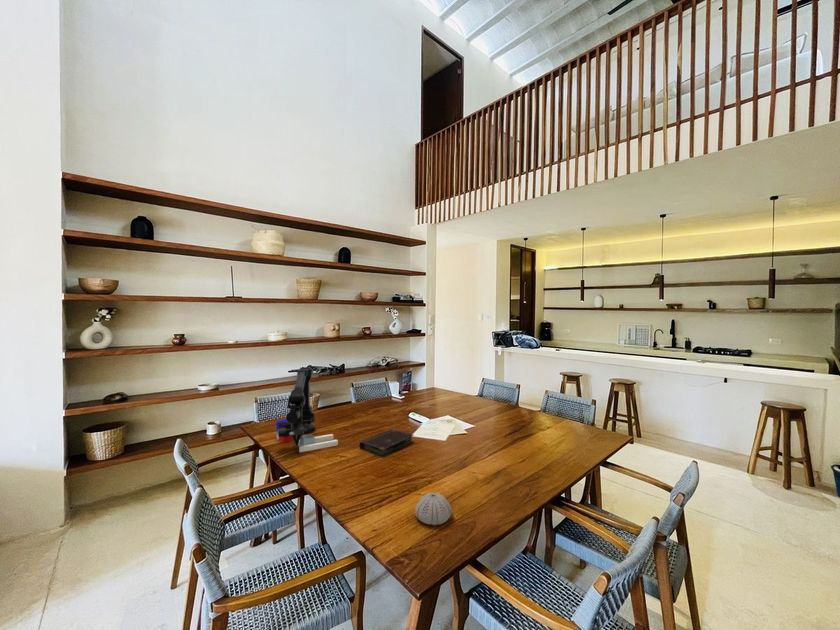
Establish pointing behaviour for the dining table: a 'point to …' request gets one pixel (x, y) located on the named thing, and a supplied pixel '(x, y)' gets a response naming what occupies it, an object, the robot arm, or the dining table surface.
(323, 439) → the chute
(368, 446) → the diary
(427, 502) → the sea urchin shell
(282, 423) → the puzzle toy
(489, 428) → the dining table surface
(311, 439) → the block
